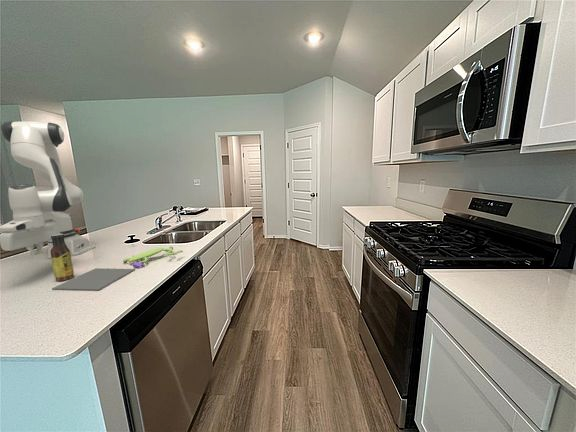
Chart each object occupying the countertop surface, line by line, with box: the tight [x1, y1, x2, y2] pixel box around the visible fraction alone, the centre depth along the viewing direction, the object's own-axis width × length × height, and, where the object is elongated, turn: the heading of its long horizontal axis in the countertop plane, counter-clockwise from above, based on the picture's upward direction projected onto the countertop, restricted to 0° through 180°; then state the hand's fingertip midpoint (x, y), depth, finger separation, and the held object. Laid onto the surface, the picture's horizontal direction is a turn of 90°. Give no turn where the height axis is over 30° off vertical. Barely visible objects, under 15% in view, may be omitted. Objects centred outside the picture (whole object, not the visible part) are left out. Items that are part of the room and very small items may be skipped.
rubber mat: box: [51, 267, 136, 292], centre depth 104 cm, size 20×20×1 cm
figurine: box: [122, 245, 184, 269], centre depth 126 cm, size 18×27×6 cm
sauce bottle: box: [51, 234, 75, 282], centre depth 104 cm, size 7×6×20 cm
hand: (36, 254), depth 105 cm, fingers closed
